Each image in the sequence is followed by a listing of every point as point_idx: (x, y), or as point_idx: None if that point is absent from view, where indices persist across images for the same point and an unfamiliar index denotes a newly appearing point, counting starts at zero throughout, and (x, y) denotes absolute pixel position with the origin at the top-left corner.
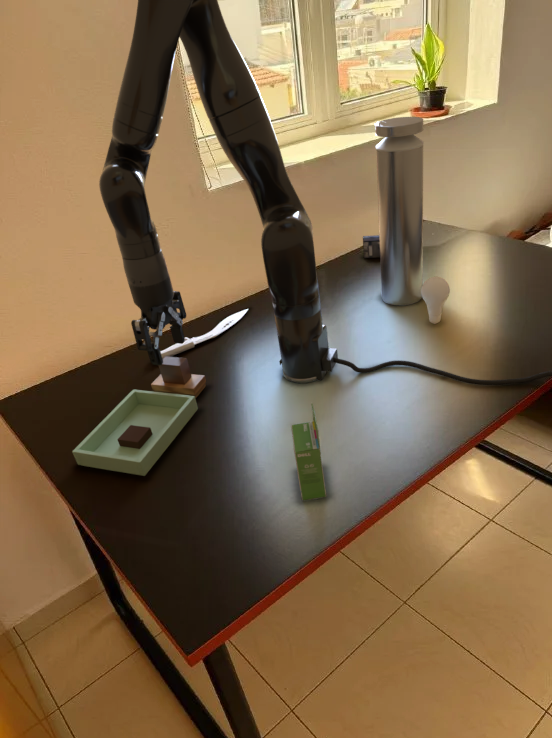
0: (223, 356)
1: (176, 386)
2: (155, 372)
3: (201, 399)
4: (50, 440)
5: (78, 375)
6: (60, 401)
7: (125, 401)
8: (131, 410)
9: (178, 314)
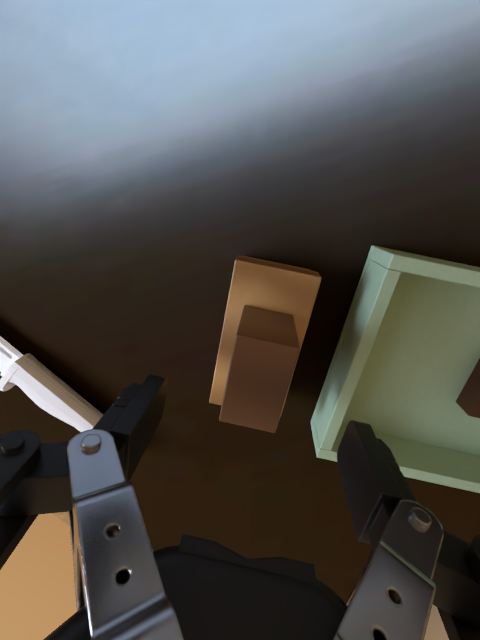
0: (60, 248)
1: (300, 340)
2: (165, 419)
3: (306, 254)
4: None
5: None
6: None
7: None
8: None
9: (21, 493)
